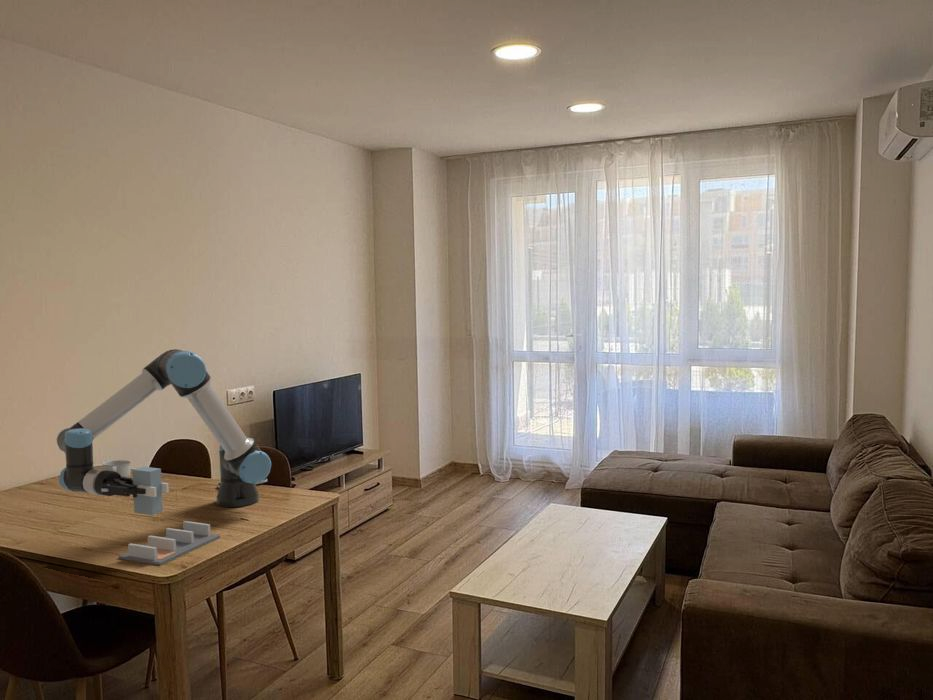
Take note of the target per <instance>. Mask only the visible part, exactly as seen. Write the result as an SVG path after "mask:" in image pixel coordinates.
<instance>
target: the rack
mask: <svg viewBox="0 0 933 700" xmlns="http://www.w3.org/2000/svg"><path fill="white" fill-rule="evenodd" d="M182 524H183V525H182V528H183V529H179V528H178V529H177V528H171V527H167V528H165V535H164V536H156V535H148V536H147V543H146V544H137V543H128V545H127V548H128V551H127V552H123V553H122V554H119V555H118V559H120V560H126V561H131V562H139V563H143V564H144V563H145V564H150V565H154V566H155V565H156V566H162V565H165V564H166V563H169V562H171V561H174V560H176V559H178V558H179V557H182V556H184V555H186V554H188V553H191V552H193V551H195V550H197V549H199V548H202V547H203V546H205V545H207V544H210V543H211V542H215V541H216V540H219V539H221V535H220V534H216V533H215V534H214V533H211V524H210V523H209V524H208V523H204V522H195V521H189V520H188V521H187V520H184V521H182Z"/></svg>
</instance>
